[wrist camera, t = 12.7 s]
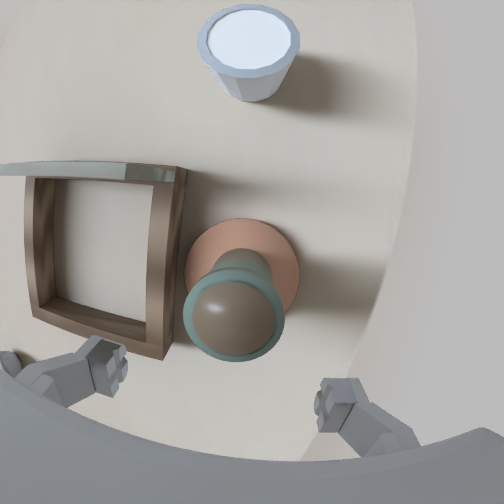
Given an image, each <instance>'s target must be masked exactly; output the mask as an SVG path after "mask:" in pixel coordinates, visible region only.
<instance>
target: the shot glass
mask: <svg viewBox="0 0 504 504" xmlns="http://www.w3.org/2000/svg"><path fill="white" fill-rule="evenodd" d="M197 47H198V50H199V52H200V54H201V57H202V59H203V61H204V62H205V64H206V65H207V67H208V68H209V69H210V71H211V72H212V74H213V75H214V76H215V78H216V79H217V81H218V82H219V83H220V85H221V86H222V88H223V89H224V90H225V91H226V92H227V93H228V94H229V95H230V96H231V97H233V98H236V99H238V100H241V101H247V102H257V101H260V100H263V99H267V98H269V97H270V96H271V95H273V94H274V93H275V92H277V90H278V89H279V87H280V85H281V83H282V81H283V79H284V77H285V75H286V73H287V71H288V69H289V67H290V66H291V64H292V62H293V60H294V58H295V56H296V54H297V52H298V50H299V48H300V33H299V32H298V30H297V28H296V26H295V25H294V23H293V21H292V20H291V19H290V18H288V17H287V16H286V15H284V14H283V13H281V12H280V11H279V10H276V9H273V8H270V7H267V6H263V5H255V4H241V5H237V6H233V7H230V8H226V9H223V10H221V11H220V12H218V13H217V14H215V15H214V16H212V17H211V18H209V19H208V20H207V22H206V23H205V24H204V26H203V27H202V29H201V30H200V31H199V37H198V44H197Z"/></svg>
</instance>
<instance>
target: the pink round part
mask: <svg viewBox="0 0 504 504" xmlns="http://www.w3.org/2000/svg"><path fill="white" fill-rule="evenodd" d="M237 248H246V249H250V250H253V251H255V252H257V253H259V254H260V255H261V256H262V257H264V259H265V260H266V261H267V263H268V264H269V266H270V269H271V273H272V280H273V286H274V287H275V289H276V290H277V292H278V293H279V296H280V298H281V301H282V305H283V310H284V312H285V311H286V310H287V309H288V307H289V306H290V305H291V303H292V301H293V300H294V298H295V295H296V293H297V290H298V286H299V265H298V261H297V258H296V255H295V253H294V251H293V249H292V247H291V246H290V244H289V242H288V241H287V240H286V239H285V237H284V236H283V235H282V234H281V233H279V232H278V231H277V230H276V229H274V228H273V227H271V226H269V225H268V224H266V223H263V222H260V221H257V220H253V219H246V218H237V219H230V220H226V221H223V222H220V223H218V224H216V225H214V226H212V227H211V228H209V229H208V230H206V231H205V232H204V233H203V234H202V235H201V236H200V237H199V238H198V239H197V240H196V241H195V242H194V244H193V246H192V247H191V249H190V251H189V253H188V256H187V259H186V263H185V272H184V276H185V284H186V288H187V291H188V293H190V291H191V290H192V288H193V287H194V285H195V284H196V283H197V282H198V281H199V280H200V279H201V278H202V277H203V276H205V275H206V274H208V273H209V272H210V270H211V269H212V267H213V265H214V264H215V262H216V260H217V259H218V258H219V257H220V256H221V255H222V254H224V253H225V252H227V251H229V250H232V249H237Z"/></svg>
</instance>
